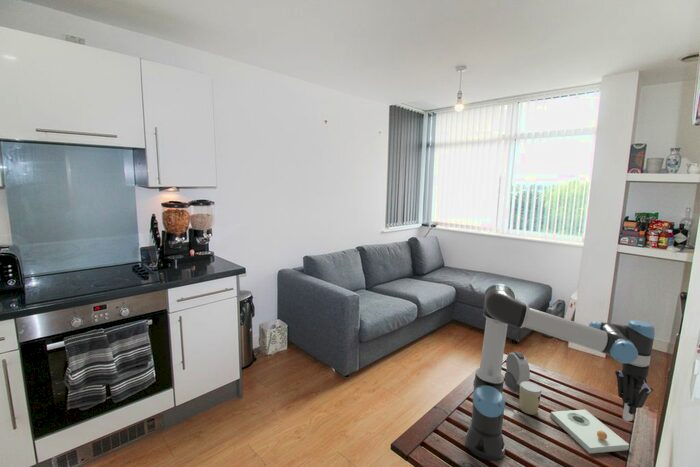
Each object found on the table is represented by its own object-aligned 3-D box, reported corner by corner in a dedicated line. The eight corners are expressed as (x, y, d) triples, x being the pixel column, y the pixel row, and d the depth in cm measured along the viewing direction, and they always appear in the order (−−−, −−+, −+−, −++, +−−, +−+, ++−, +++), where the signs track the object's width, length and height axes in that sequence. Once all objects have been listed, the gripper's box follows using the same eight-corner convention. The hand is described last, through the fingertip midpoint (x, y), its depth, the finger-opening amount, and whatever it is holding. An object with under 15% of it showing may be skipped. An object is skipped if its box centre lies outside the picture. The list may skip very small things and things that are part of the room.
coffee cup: (542, 417, 156) (544, 393, 155) (520, 414, 158) (523, 390, 156) (535, 404, 165) (538, 382, 164) (515, 401, 167) (517, 379, 166)
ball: (601, 442, 138) (602, 434, 138) (594, 436, 142) (595, 428, 141) (608, 441, 139) (609, 434, 138) (601, 435, 142) (602, 428, 142)
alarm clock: (533, 393, 174) (536, 361, 172) (513, 393, 174) (516, 360, 172) (517, 376, 190) (521, 346, 188) (500, 375, 190) (503, 345, 188)
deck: (628, 450, 138) (629, 444, 137) (589, 453, 135) (590, 447, 135) (584, 414, 159) (585, 409, 159) (550, 416, 157) (550, 411, 156)
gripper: (662, 371, 120) (653, 430, 123) (628, 353, 133) (620, 407, 136) (644, 372, 119) (635, 432, 122) (611, 354, 132) (603, 408, 135)
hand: (627, 419), depth 129 cm, fingers closed
